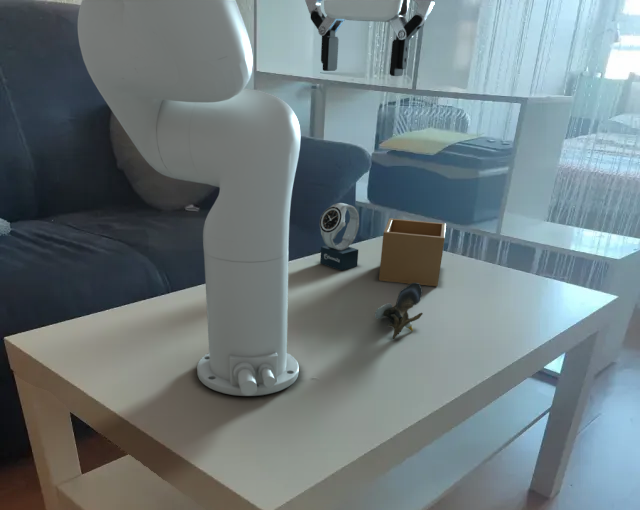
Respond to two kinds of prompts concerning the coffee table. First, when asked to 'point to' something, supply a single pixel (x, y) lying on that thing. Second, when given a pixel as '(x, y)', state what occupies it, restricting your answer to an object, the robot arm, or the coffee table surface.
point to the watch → (340, 252)
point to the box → (412, 252)
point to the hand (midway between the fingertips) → (362, 73)
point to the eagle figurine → (401, 308)
